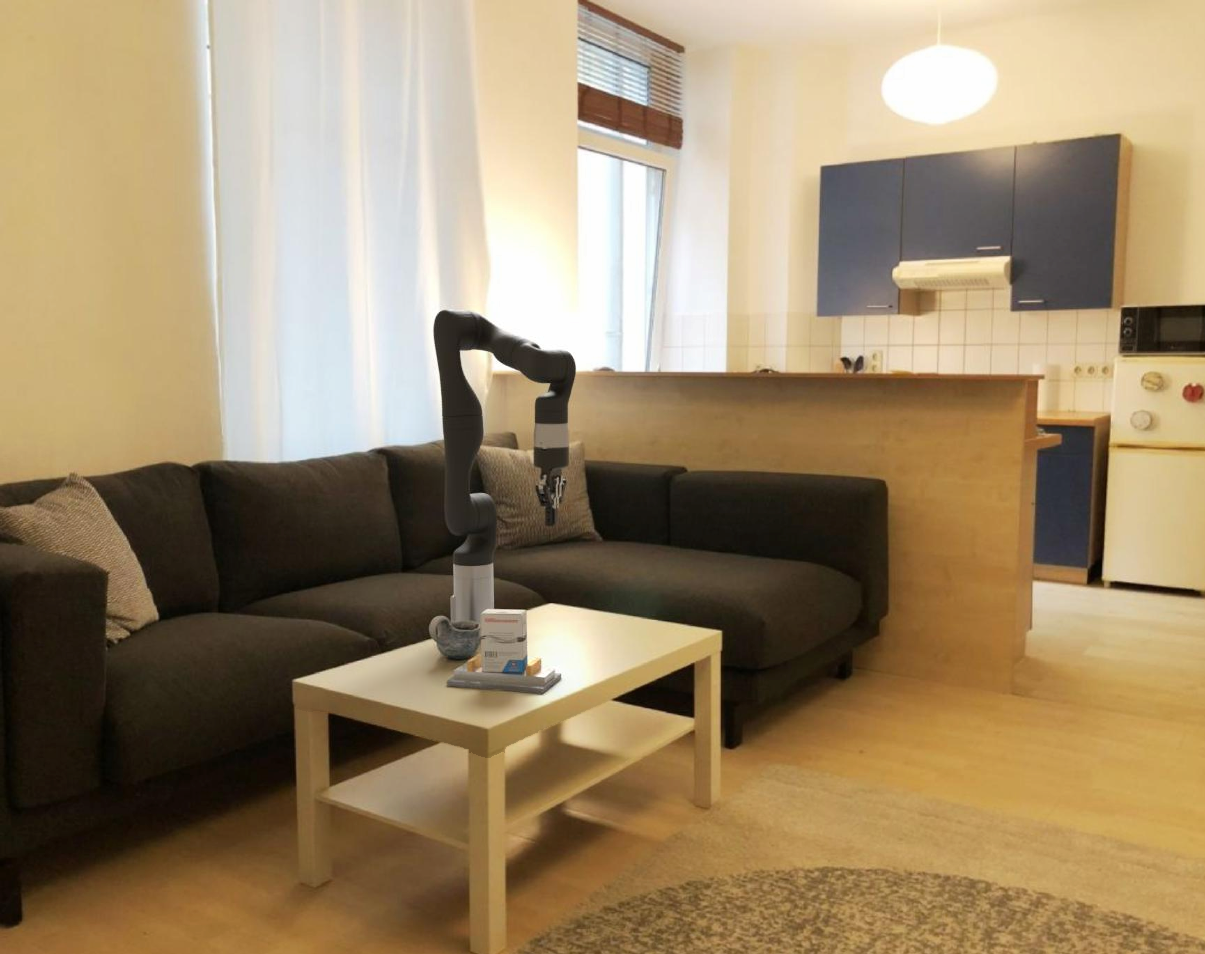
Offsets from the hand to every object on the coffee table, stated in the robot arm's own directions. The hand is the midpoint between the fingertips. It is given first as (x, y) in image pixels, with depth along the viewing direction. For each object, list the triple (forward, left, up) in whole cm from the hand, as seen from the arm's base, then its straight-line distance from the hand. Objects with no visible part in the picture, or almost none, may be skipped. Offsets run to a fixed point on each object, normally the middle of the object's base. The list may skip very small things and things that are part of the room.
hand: (551, 525), depth 237 cm
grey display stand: (-3, -21, -29) cm, 36 cm away
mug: (-20, -7, -29) cm, 36 cm away
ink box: (-3, -21, -26) cm, 34 cm away
